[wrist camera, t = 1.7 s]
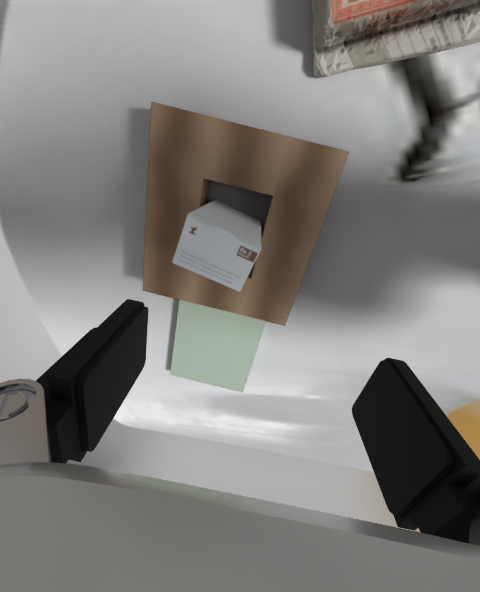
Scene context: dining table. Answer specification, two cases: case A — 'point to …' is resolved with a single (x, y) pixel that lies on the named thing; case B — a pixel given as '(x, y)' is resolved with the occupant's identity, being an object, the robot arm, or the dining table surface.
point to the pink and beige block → (388, 31)
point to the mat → (214, 345)
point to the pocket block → (245, 174)
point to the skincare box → (219, 244)
